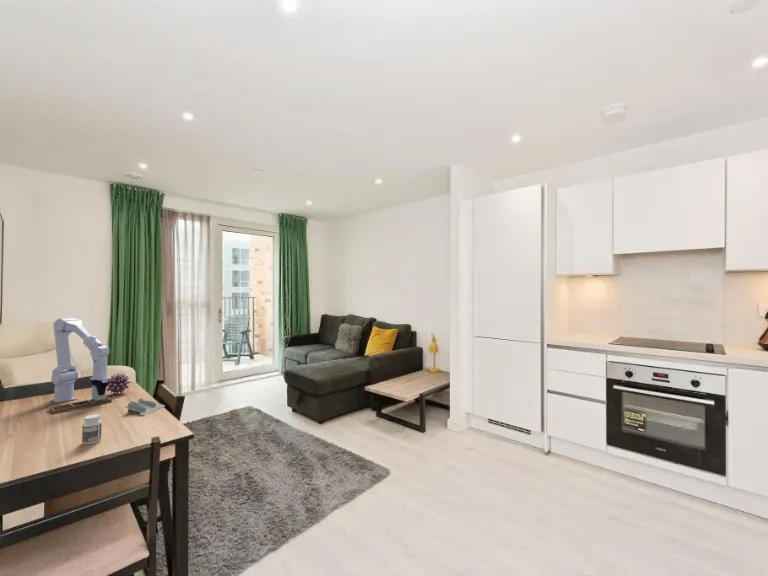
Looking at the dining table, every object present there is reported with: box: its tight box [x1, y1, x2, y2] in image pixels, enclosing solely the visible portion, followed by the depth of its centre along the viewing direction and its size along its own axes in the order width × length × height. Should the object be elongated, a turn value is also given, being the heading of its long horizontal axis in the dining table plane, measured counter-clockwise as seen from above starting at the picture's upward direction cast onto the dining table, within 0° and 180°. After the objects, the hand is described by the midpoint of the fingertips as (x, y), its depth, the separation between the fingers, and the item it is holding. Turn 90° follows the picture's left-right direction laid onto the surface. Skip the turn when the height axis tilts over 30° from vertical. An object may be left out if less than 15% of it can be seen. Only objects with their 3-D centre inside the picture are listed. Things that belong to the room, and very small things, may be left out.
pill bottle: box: [81, 413, 103, 445], centre depth 137 cm, size 6×6×10 cm
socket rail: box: [48, 396, 112, 415], centre depth 180 cm, size 8×23×2 cm, turn 146°
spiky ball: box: [106, 372, 132, 395], centre depth 202 cm, size 12×12×12 cm
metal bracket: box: [123, 397, 166, 417], centre depth 174 cm, size 14×6×15 cm
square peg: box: [91, 384, 107, 402], centre depth 186 cm, size 5×5×8 cm
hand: (99, 394), depth 186 cm, fingers closed on square peg, 4 cm apart
